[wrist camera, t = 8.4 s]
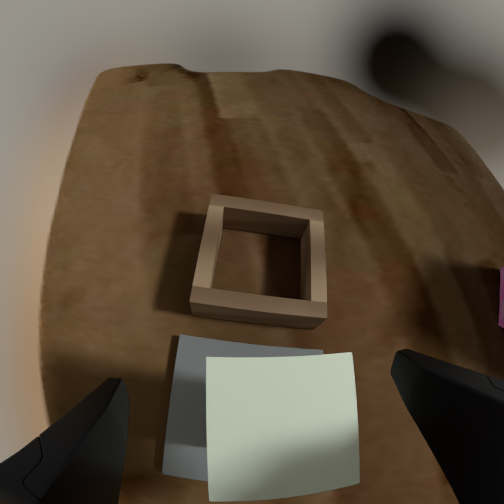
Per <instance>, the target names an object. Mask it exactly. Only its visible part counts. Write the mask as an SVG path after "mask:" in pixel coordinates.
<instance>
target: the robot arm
mask: <svg viewBox="0 0 504 504" xmlns="http://www.w3.org/2000/svg"><path fill="white" fill-rule="evenodd" d="M391 376H392V378H393V380H394V382H395V384H396V386H397V389H398V391H399V393H400V395H401V397H402V399H403V401H404V404H405V406H406V408H407V409H408V411H409V413H410V414H411V416H412V418H413V420H414V421H415V423H416V425H417V426H418V428H419V430H420V432H421V433H422V435H423V437H424V438H425V440H426V442H427V444H428V445H429V447H430V449H431V451H432V453H433V454H434V456H435V458H436V460H437V462H438V463H439V465H440V467H441V469H442V471H443V473H444V474H445V476H446V478H447V480H448V482H449V484H450V486H451V488H452V489H453V492H454V494H455V496H456V498H457V500H458V501H459V503H460V504H504V380H502V379H498V378H495V377H491V376H488V375H487V376H486V375H485V374H482V373H478V372H475V371H472V370H469V369H466V368H463V367H460V366H457V365H454V364H451V363H448V362H445V361H442V360H439V359H436V358H433V357H430V356H427V355H424V354H421V353H418V352H415V351H413V350H410V349H403V350H399V351H397V352H396V354H395V357H394V361H393V364H392V367H391ZM129 405H130V402H129V396H128V393H127V390H126V387H125V383H124V381H123V379H122V378H115V377H110V378H108V379H107V380H106V381H104V382H103V383H102V384H101V385H100V386H98V387H97V388H96V389H95V390H94V391H92V392H91V393H90V394H89V395H88V396H86V397H85V398H84V399H83V400H81V401H80V402H79V403H78V404H77V405H75V406H74V407H73V408H72V409H71V410H69V411H68V412H67V413H66V414H64V415H63V416H62V417H61V418H60V419H58V420H57V421H56V422H55V423H54V424H52V425H51V426H50V427H49V428H47V429H46V430H45V431H44V432H43V433H41V434H40V436H39V437H36V438H35V439H34V440H33V441H31V442H30V443H29V444H28V445H26V446H25V447H24V448H22V449H21V450H20V451H18V452H17V453H15V454H14V455H12V456H11V457H9V458H8V459H6V460H5V461H3V462H2V463H0V504H118V502H119V494H120V486H121V479H122V473H123V466H124V460H125V454H126V448H127V436H128V419H129Z"/></svg>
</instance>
